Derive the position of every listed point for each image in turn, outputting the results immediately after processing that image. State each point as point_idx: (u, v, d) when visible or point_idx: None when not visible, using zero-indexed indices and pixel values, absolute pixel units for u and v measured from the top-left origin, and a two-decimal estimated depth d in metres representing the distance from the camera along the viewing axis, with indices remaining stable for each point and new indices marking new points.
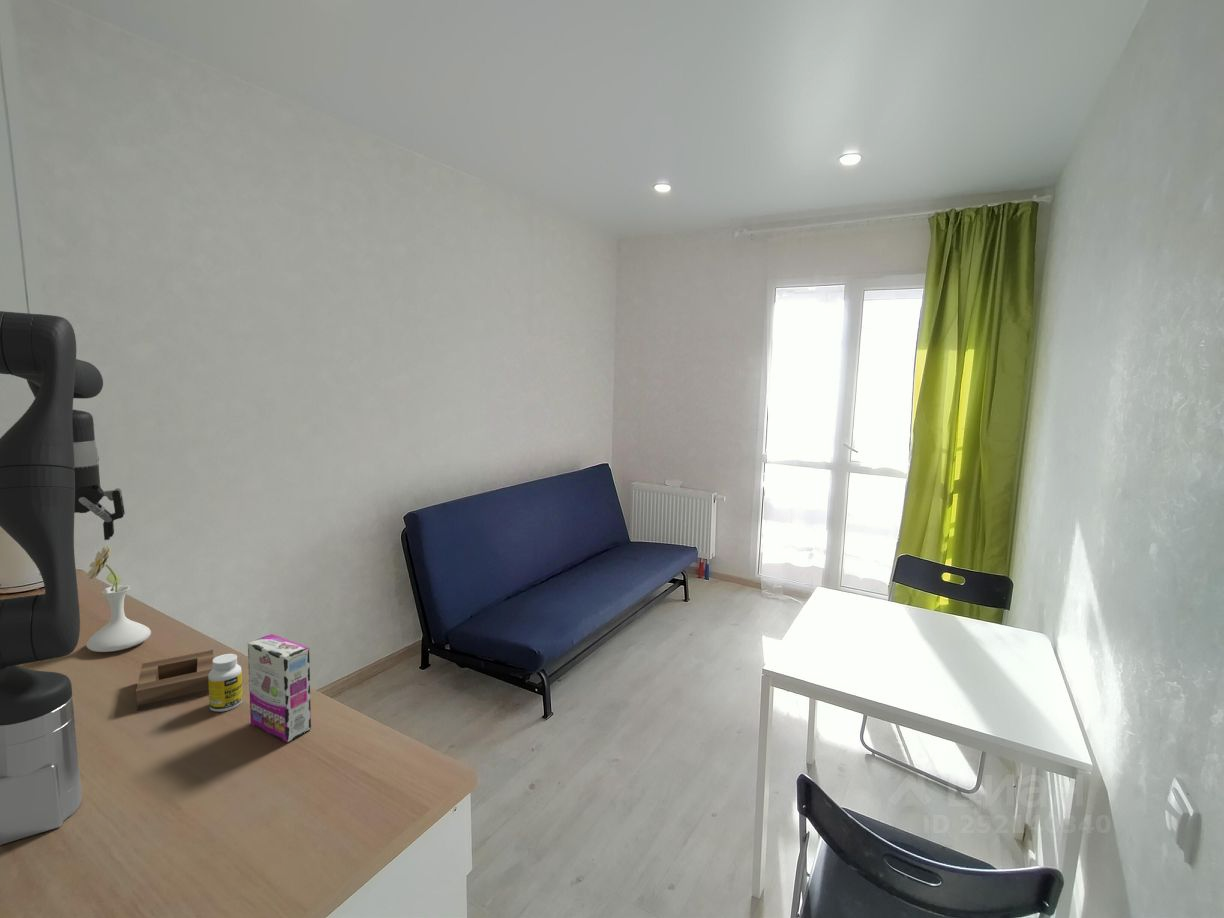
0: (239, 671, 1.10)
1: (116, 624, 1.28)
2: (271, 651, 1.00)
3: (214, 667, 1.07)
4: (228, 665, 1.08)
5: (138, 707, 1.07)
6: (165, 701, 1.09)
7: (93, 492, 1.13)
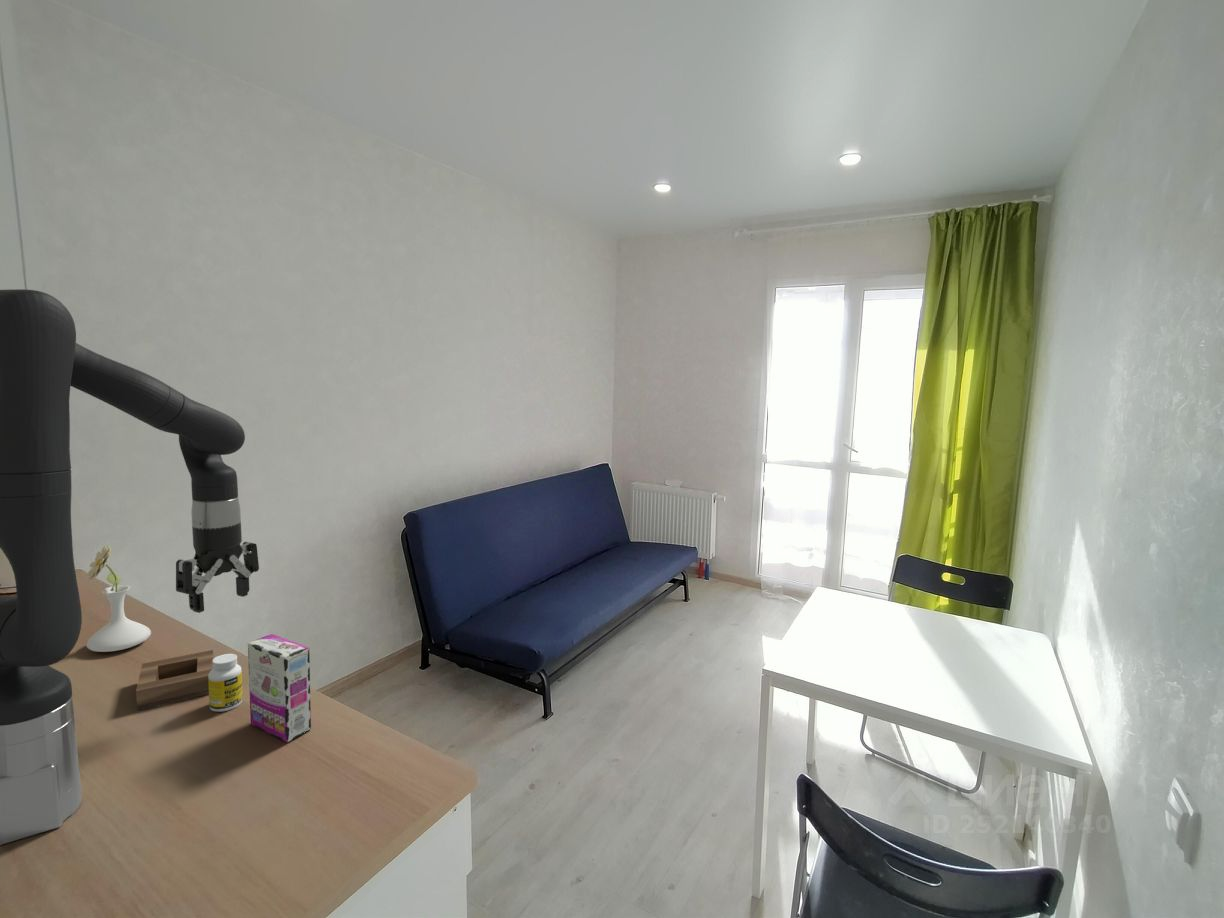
0: (239, 671, 1.10)
1: (116, 624, 1.28)
2: (271, 651, 1.00)
3: (214, 667, 1.07)
4: (228, 665, 1.08)
5: (138, 707, 1.07)
6: (165, 701, 1.09)
7: (237, 548, 1.08)
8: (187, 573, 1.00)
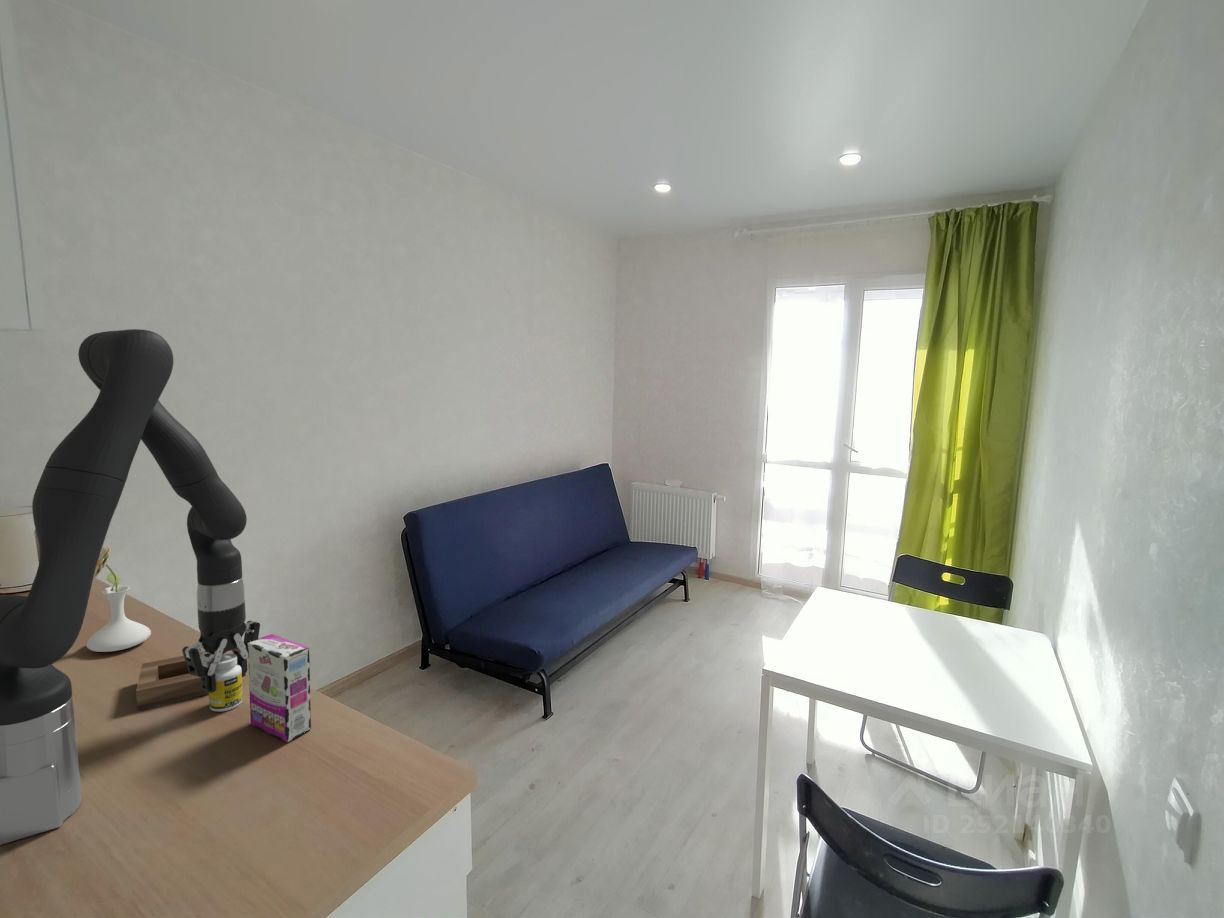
0: (239, 671, 1.10)
1: (116, 624, 1.28)
2: (271, 651, 1.00)
3: None
4: (228, 665, 1.08)
5: (138, 707, 1.07)
6: (165, 701, 1.09)
7: (241, 625, 1.11)
8: (195, 660, 1.02)
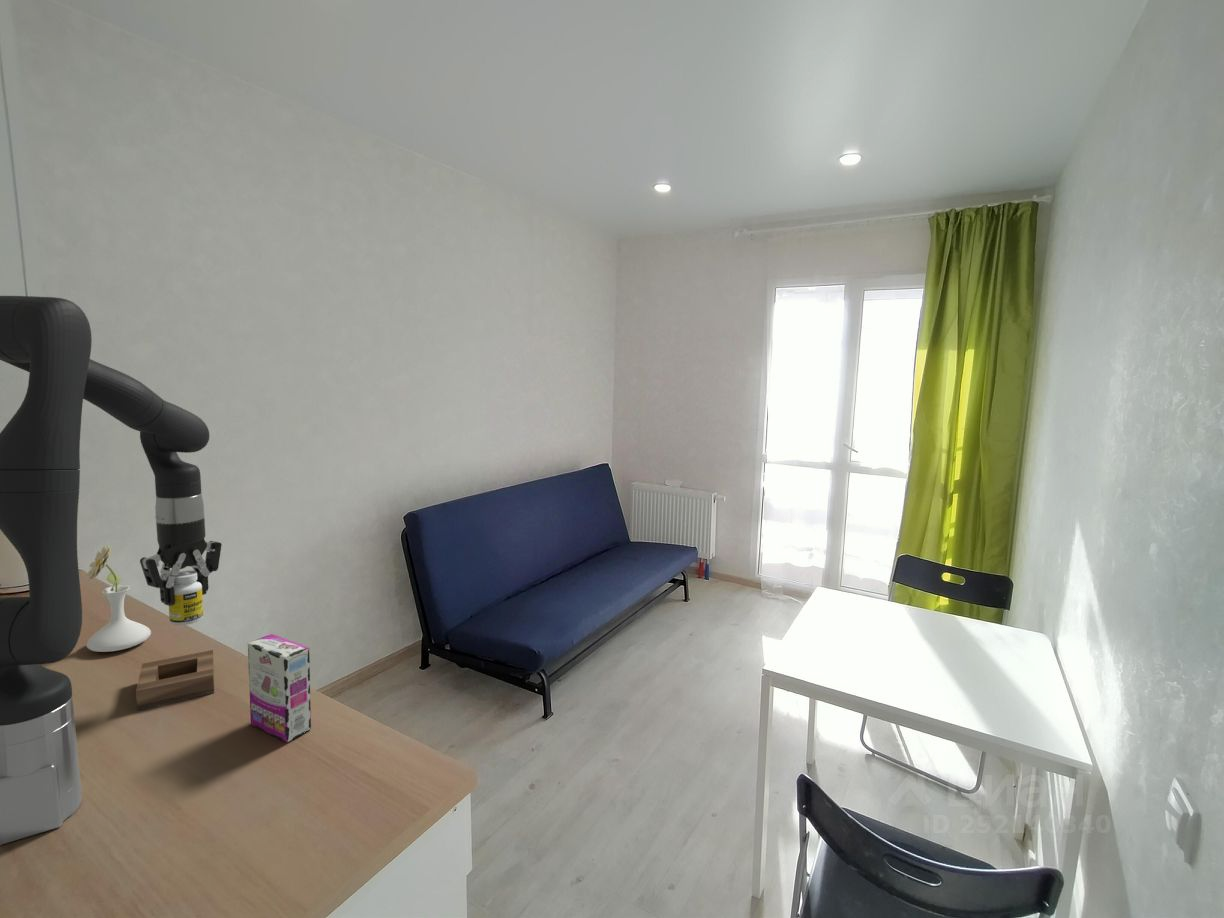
0: (199, 587, 1.12)
1: (116, 624, 1.28)
2: (271, 651, 1.00)
3: None
4: (187, 579, 1.10)
5: (138, 707, 1.07)
6: (165, 701, 1.09)
7: (201, 543, 1.12)
8: (153, 570, 1.04)
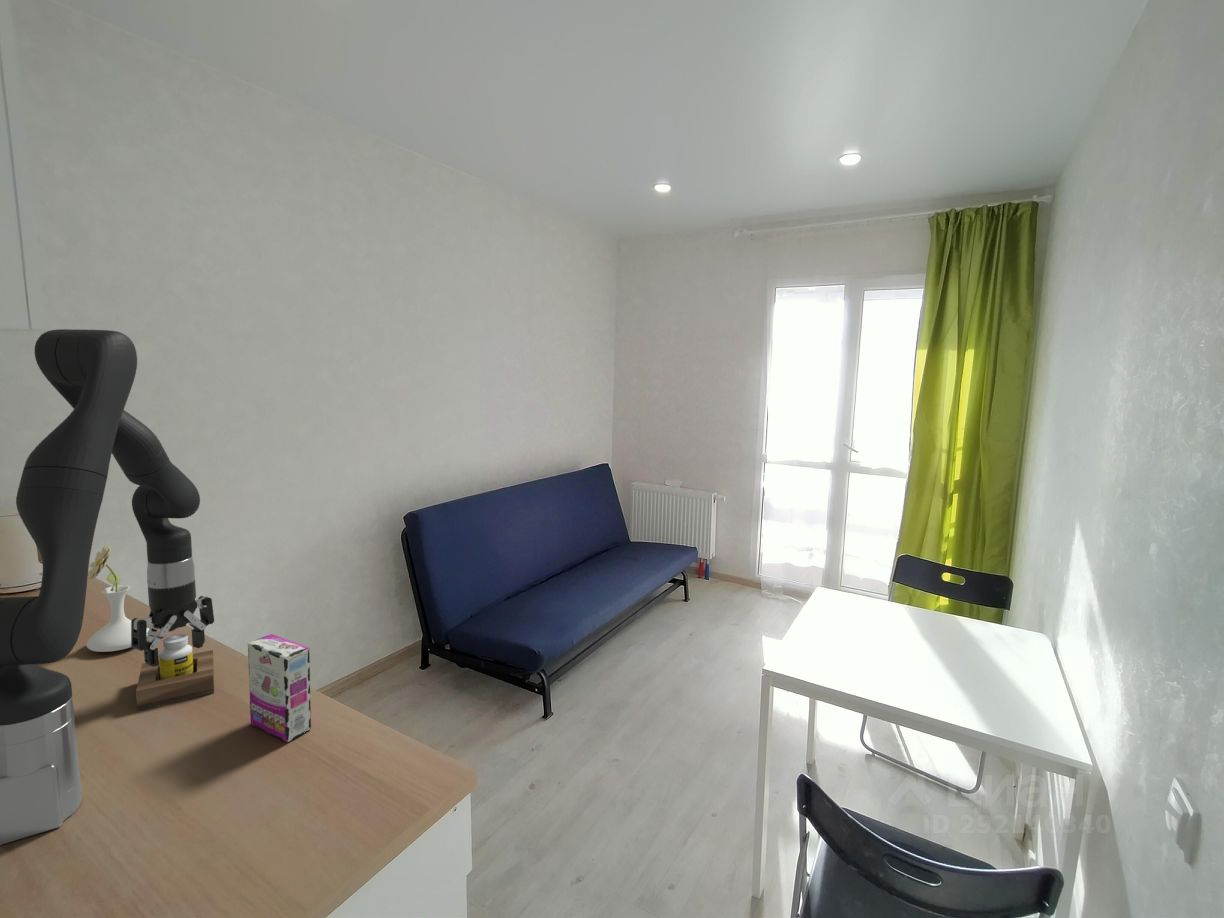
0: (189, 650, 1.14)
1: (116, 624, 1.28)
2: (271, 651, 1.00)
3: (164, 646, 1.12)
4: (178, 644, 1.13)
5: (138, 707, 1.07)
6: (165, 701, 1.09)
7: (191, 604, 1.15)
8: (141, 631, 1.07)
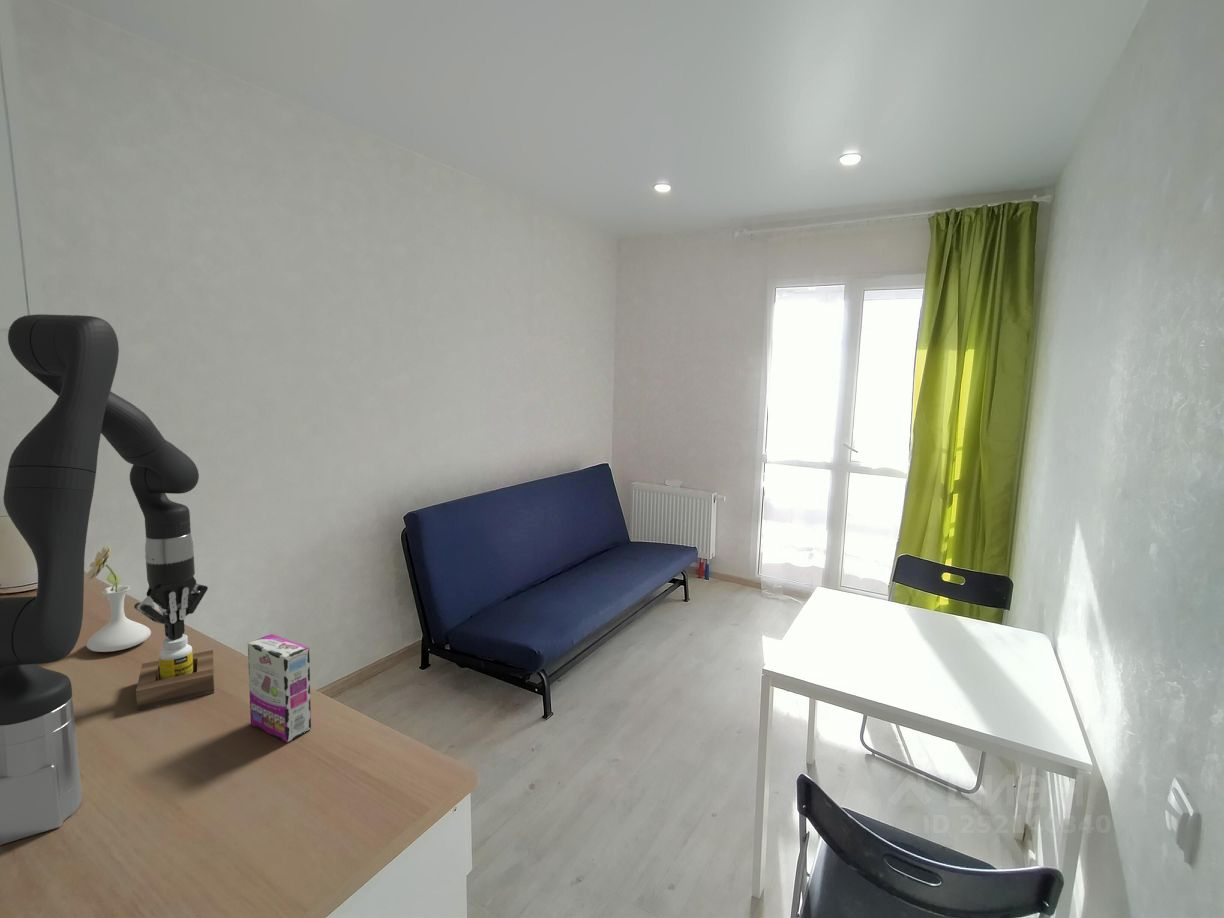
0: (189, 651, 1.14)
1: (116, 624, 1.28)
2: (271, 651, 1.00)
3: (164, 646, 1.12)
4: (178, 644, 1.12)
5: (138, 707, 1.07)
6: (165, 701, 1.09)
7: (192, 580, 1.15)
8: (151, 613, 1.08)
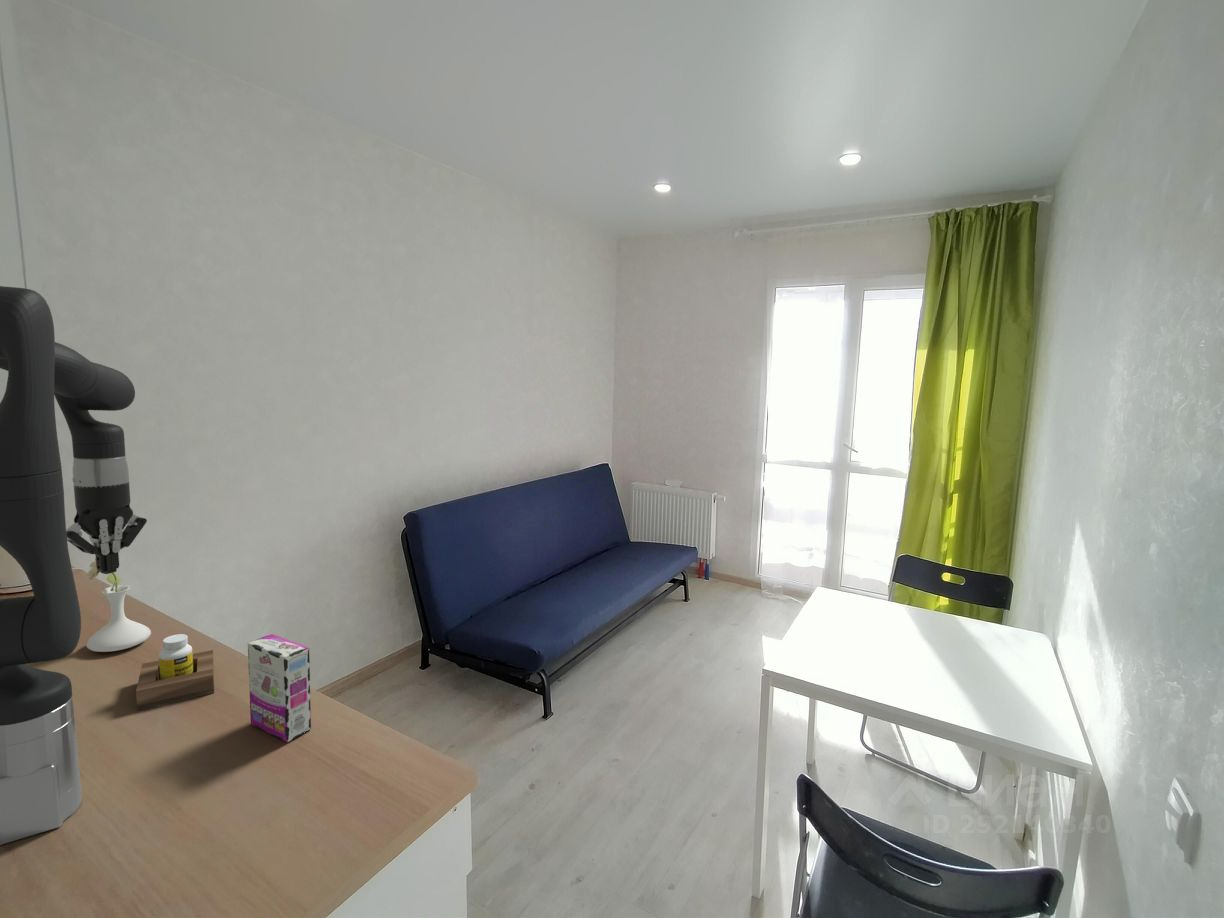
0: (189, 651, 1.14)
1: (116, 624, 1.28)
2: (271, 651, 1.00)
3: (164, 646, 1.12)
4: (178, 644, 1.12)
5: (138, 707, 1.07)
6: (165, 701, 1.09)
7: (128, 510, 1.05)
8: (78, 541, 0.98)
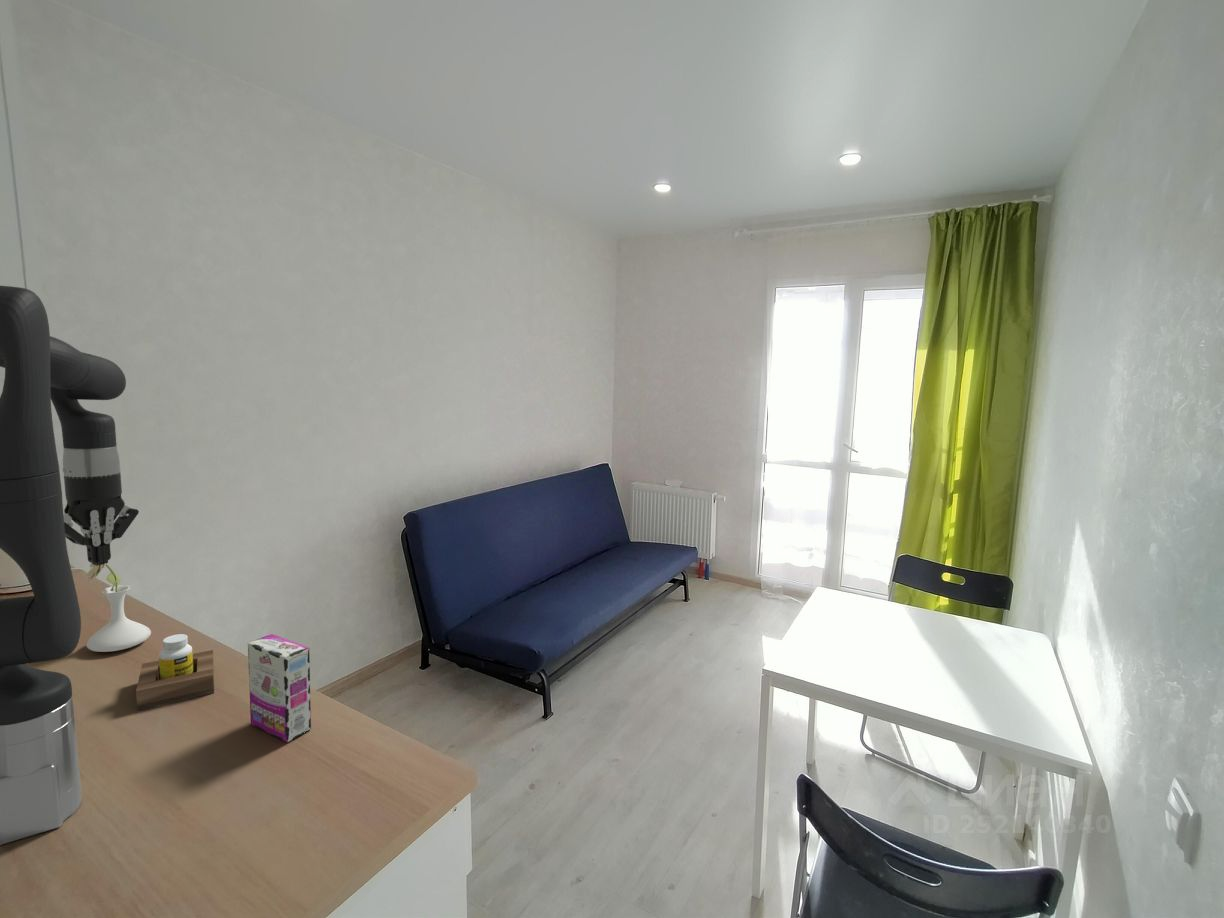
0: (189, 651, 1.14)
1: (116, 624, 1.28)
2: (271, 651, 1.00)
3: (164, 646, 1.12)
4: (178, 644, 1.12)
5: (138, 707, 1.07)
6: (165, 701, 1.09)
7: (120, 501, 1.04)
8: (68, 532, 0.97)
